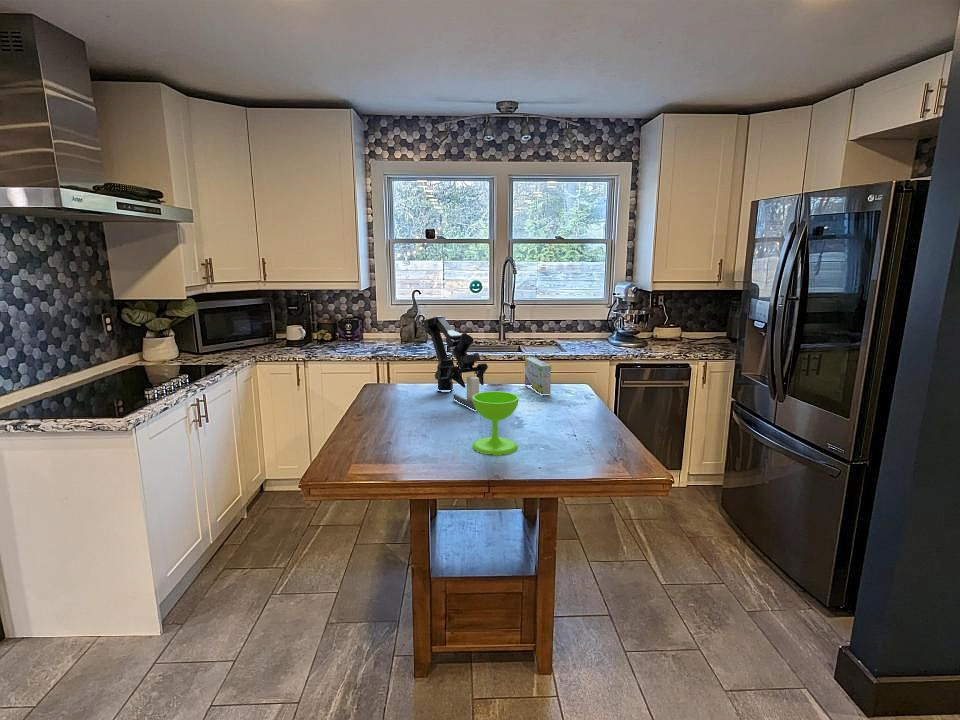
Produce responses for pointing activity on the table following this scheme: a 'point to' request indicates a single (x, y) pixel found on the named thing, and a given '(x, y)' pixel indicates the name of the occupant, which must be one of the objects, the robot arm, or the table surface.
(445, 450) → the table surface
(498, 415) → the wineglass
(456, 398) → the bottom track
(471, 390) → the cream rectangular block
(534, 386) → the snack box
